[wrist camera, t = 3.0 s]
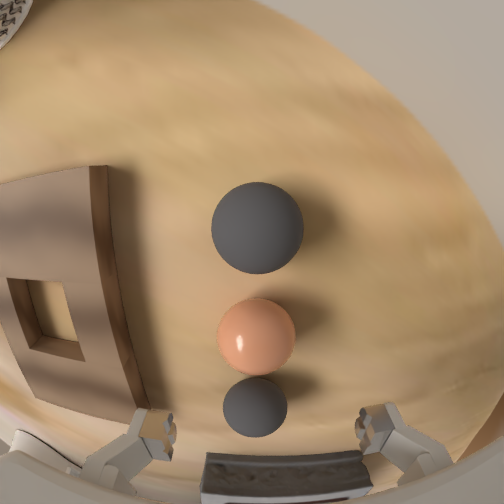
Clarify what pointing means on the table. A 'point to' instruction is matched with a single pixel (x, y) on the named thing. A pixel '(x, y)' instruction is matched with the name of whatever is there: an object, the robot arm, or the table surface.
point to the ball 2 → (255, 407)
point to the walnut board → (68, 293)
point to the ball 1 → (257, 228)
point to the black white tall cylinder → (12, 17)
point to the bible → (284, 478)
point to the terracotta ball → (256, 336)
